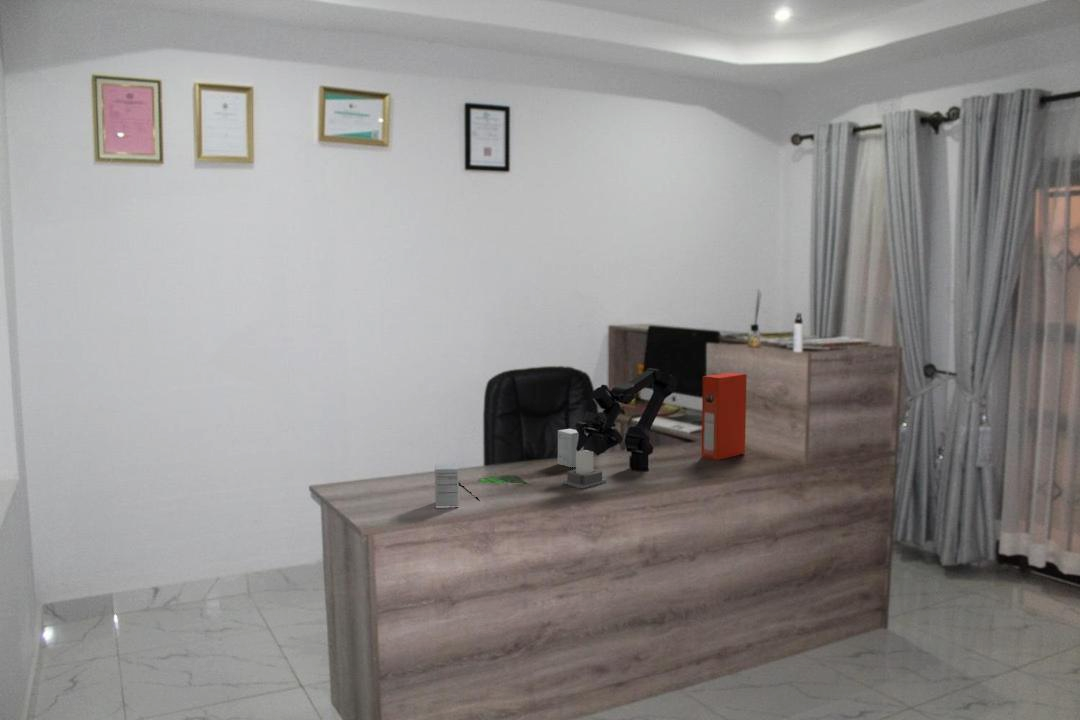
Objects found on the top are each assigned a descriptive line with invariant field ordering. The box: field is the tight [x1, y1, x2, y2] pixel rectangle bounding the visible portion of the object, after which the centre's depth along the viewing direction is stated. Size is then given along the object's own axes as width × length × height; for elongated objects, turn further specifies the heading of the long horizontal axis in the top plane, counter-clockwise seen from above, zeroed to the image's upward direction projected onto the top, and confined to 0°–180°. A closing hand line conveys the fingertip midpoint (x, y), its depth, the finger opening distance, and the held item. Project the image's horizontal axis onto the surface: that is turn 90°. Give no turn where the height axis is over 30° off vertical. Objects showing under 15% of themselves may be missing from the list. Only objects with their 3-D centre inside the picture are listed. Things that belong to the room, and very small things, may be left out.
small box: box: [557, 428, 585, 469], centre depth 324 cm, size 8×6×13 cm
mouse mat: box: [478, 475, 531, 486], centre depth 291 cm, size 27×22×1 cm
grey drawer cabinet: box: [434, 463, 460, 507], centre depth 271 cm, size 7×7×13 cm
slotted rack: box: [562, 468, 607, 489], centre depth 298 cm, size 12×9×4 cm
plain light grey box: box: [575, 449, 594, 475], centre depth 298 cm, size 5×4×10 cm
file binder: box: [701, 372, 747, 461], centre depth 338 cm, size 8×17×32 cm, turn 130°
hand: (586, 452), depth 298 cm, fingers open, 9 cm apart
